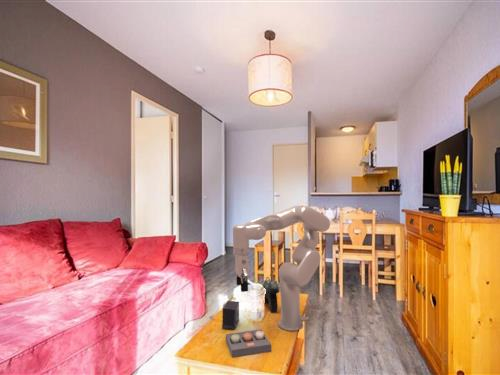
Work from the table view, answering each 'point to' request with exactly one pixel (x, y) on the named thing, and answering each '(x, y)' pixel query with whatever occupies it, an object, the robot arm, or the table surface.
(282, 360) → the table surface
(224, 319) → the small box
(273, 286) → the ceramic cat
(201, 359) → the table surface
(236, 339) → the sage button
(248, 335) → the terracotta button
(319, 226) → the robot arm
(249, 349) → the button box
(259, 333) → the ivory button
